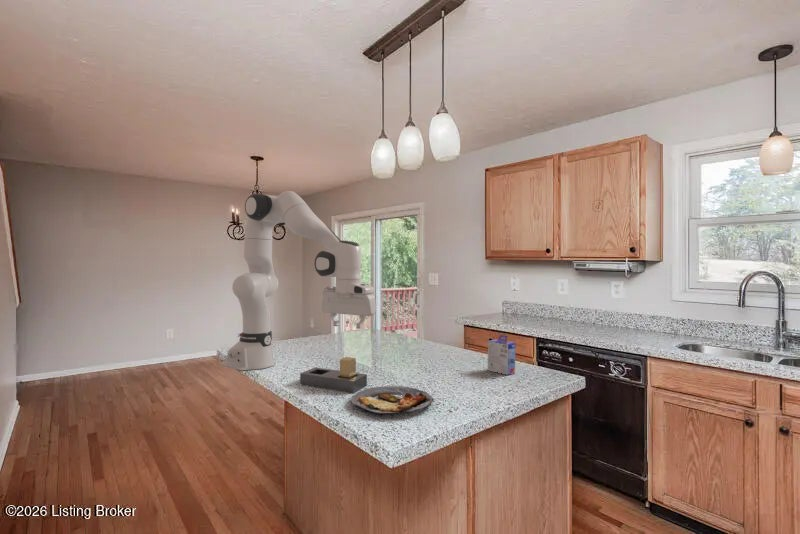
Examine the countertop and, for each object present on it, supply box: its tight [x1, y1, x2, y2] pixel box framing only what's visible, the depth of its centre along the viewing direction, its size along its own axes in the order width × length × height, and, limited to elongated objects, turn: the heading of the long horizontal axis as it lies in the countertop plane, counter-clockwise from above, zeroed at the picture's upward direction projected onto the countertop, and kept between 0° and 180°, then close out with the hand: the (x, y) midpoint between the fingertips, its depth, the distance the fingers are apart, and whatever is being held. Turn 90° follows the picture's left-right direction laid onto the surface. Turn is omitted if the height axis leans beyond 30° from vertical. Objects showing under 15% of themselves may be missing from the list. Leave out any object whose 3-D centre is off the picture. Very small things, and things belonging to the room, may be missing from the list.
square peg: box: [339, 356, 357, 379], centre depth 141 cm, size 4×4×10 cm
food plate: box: [350, 385, 435, 415], centre depth 125 cm, size 25×23×4 cm
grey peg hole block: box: [299, 367, 368, 394], centre depth 143 cm, size 22×9×4 cm, turn 66°
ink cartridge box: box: [487, 334, 517, 376], centre depth 162 cm, size 10×6×14 cm, turn 41°
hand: (347, 327), depth 141 cm, fingers open, 8 cm apart
